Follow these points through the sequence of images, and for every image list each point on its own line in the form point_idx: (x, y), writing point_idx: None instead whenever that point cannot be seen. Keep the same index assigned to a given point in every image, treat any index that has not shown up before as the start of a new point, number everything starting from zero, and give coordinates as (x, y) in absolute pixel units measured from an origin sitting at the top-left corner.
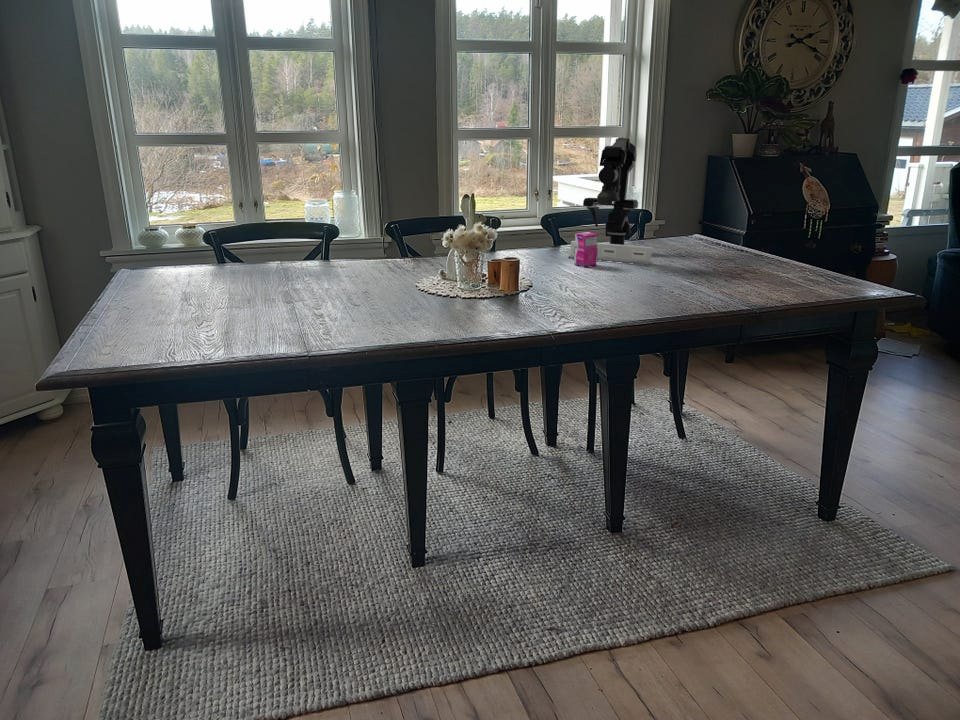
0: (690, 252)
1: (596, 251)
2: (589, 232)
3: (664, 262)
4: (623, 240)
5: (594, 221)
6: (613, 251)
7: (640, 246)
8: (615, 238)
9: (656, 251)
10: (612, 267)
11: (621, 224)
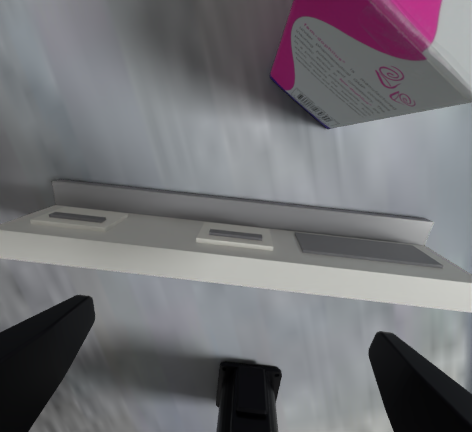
0: (38, 427)
1: (281, 41)
2: (451, 51)
3: (35, 268)
4: (217, 429)
5: (465, 390)
6: (210, 231)
7: (57, 262)
8: (248, 428)
9: (130, 418)
10: (185, 78)
11: (38, 323)
